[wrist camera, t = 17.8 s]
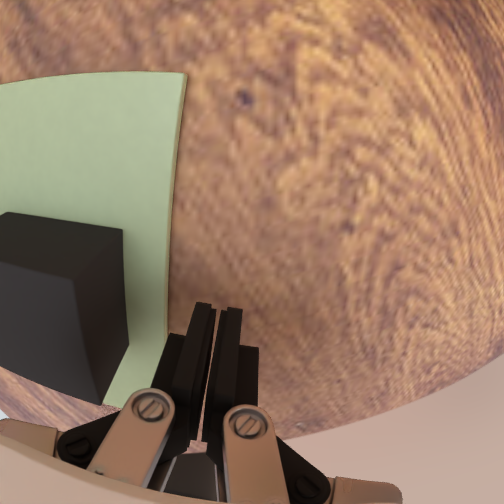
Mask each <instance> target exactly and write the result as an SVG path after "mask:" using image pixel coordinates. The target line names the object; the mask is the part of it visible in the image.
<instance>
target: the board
mask: <svg viewBox="0 0 504 504" xmlns="http://www.w3.org/2000/svg"><path fill="white" fill-rule="evenodd" d="M187 77H188V76H187V74H185V73H180V72H155V71H118V72H94V73H79V74H68V75H58V76H49V77H42V78H35V79H28V80H22V81H16V82H11V83H5V84H0V215H2V214H4V213H5V212H14V213H20V214H27V215H33V216H40V217H46V218H53V219H59V220H66V221H72V222H79V223H85V224H92V225H98V226H105V227H111V228H118V229H122V230H123V262H124V285H125V301H126V314H127V325H128V336H129V346H128V348H127V351H126V353H125V355H124V357H123V359H122V361H121V363H120V365H119V367H118V370H117V372H116V374H115V376H114V378H113V380H112V383H111V385H110V387H109V389H108V391H107V394H106V396H105V398H104V400H103V403H104V404H108V405H111V406H114V407H118V408H123V406H124V405H125V403H126V401H127V400H128V398H129V397H130V396H131V395H132V393H134V392H136V391H137V390H140V389H144V388H150V386H151V383H152V380H153V377H154V375H155V372H156V369H157V366H158V363H159V360H160V357H161V355H162V352H163V349H164V346H165V344H166V341H167V320H168V273H169V250H170V232H171V217H172V203H173V191H174V180H175V169H176V160H177V151H178V142H179V133H180V126H181V118H182V111H183V103H184V97H185V90H186V83H187Z"/></svg>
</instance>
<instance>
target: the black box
mask: <svg viewBox="0 0 504 504" xmlns="http://www.w3.org/2000/svg"><path fill="white" fill-rule="evenodd" d="M128 346H129V336H128V325H127V314H126V301H125V285H124V262H123V230H122V229H118V228H111V227H105V226H98V225H92V224H85V223H79V222H72V221H66V220H59V219H53V218H46V217H40V216H33V215H27V214H20V213H14V212H5V213H4V214H2V215H0V366H1V367H3V368H5V369H7V370H9V371H11V372H13V373H16V374H18V375H20V376H22V377H24V378H27V379H29V380H31V381H34V382H36V383H38V384H41V385H43V386H46V387H48V388H51V389H53V390H56V391H58V392H61V393H64V394H66V395H69V396H72V397H75V398H78V399H81V400H84V401H87V402H90V403H93V404H96V405H99V406H101V405H102V403H103V400H104V398H105V396H106V394H107V391H108V389H109V387H110V385H111V383H112V380H113V378H114V376H115V374H116V372H117V370H118V367H119V365H120V363H121V361H122V359H123V357H124V355H125V353H126V351H127V348H128Z"/></svg>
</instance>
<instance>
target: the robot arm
mask: <svg viewBox="0 0 504 504" xmlns="http://www.w3.org/2000/svg"><path fill="white" fill-rule="evenodd" d="M216 310H217V309H213V308H211V304H207V303H202V302H196V304H195V308H194V311H193V314H192V317H191V321H190V324H189V327H188V331H187V334H186V336H184V335H178V334H173V333H170V334H169V336H168V338H167V341H166V344H165V346H164V349H163V352H162V355H161V357H160V360H159V363H158V366H157V369H156V372H155V375H154V377H153V380H152V383H151V386H150V388H144V389H140V390H137V391H136V392H134V393H132V395H131V396H130V397H129V398H128V400H127V401H126V403H125V405H124V406H123V408H122V410H120V411H118V412H115V413H113V414H110V415H108V416H105V417H102V418H100V419H97V420H95V421H92V422H89V423H86V424H84V425H81V426H78V427H75V428H73V429H70V430H68V431H66V432H61V431H58V429H57V428H52V427H47V426H42V425H37V424H32V423H27V422H23V421H19V420H15V419H9V418H8V419H7V418H5V419H2V420H0V504H402V493H401V492H400V490H399V489H398V488H397V487H396V486H395V485H393V484H390V483H385V482H374V481H365V480H357V479H350V478H343V477H335V478H329V477H326V476H325V475H324V474H323V473H321V472H320V471H319V470H318V469H317V468H315V467H314V466H313V465H311V464H310V463H309V462H308V461H306V460H305V459H304V458H303V457H301V456H300V455H299V454H298V453H296V452H295V451H294V450H293V449H292V448H290V447H289V446H288V445H286V444H285V443H284V442H283V441H282V440H281V439H280V438H279V437H277V436H276V435H275V430H274V425H273V422H272V419H271V417H270V416H269V415H268V413H267V412H266V411H264V410H263V409H261V408H259V407H258V365H259V348H258V347H251V346H244V345H239V344H240V333H241V322H242V311H243V309H238V308H232V307H228V309H227V311H225V310H221V314H220V319H219V325H218V330H217V336H216V341H215V347H214V352H213V358H212V363H211V369H210V374H209V380H208V386H207V392H206V401H205V410H204V420H203V429H202V440H201V442H207V450H206V455H207V456H208V457H209V458H210V459H211V460H212V461H213V462H214V463H215V478H216V491H217V502H216V501H208V500H201V499H195V498H189V497H183V496H178V495H173V494H168V493H164V492H163V490H164V488H165V486H166V483H167V481H168V478H169V476H170V473H171V471H172V468H173V466H174V463H175V461H176V457H177V456H178V455H180V454H182V453H184V452H185V451H187V447H189V445H190V440H195V441H196V440H197V434H198V428H199V423H200V417H201V411H202V406H203V400H204V394H205V389H206V383H207V378H208V372H209V366H210V359H211V351H212V343H213V334H214V326H215V318H216Z"/></svg>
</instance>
